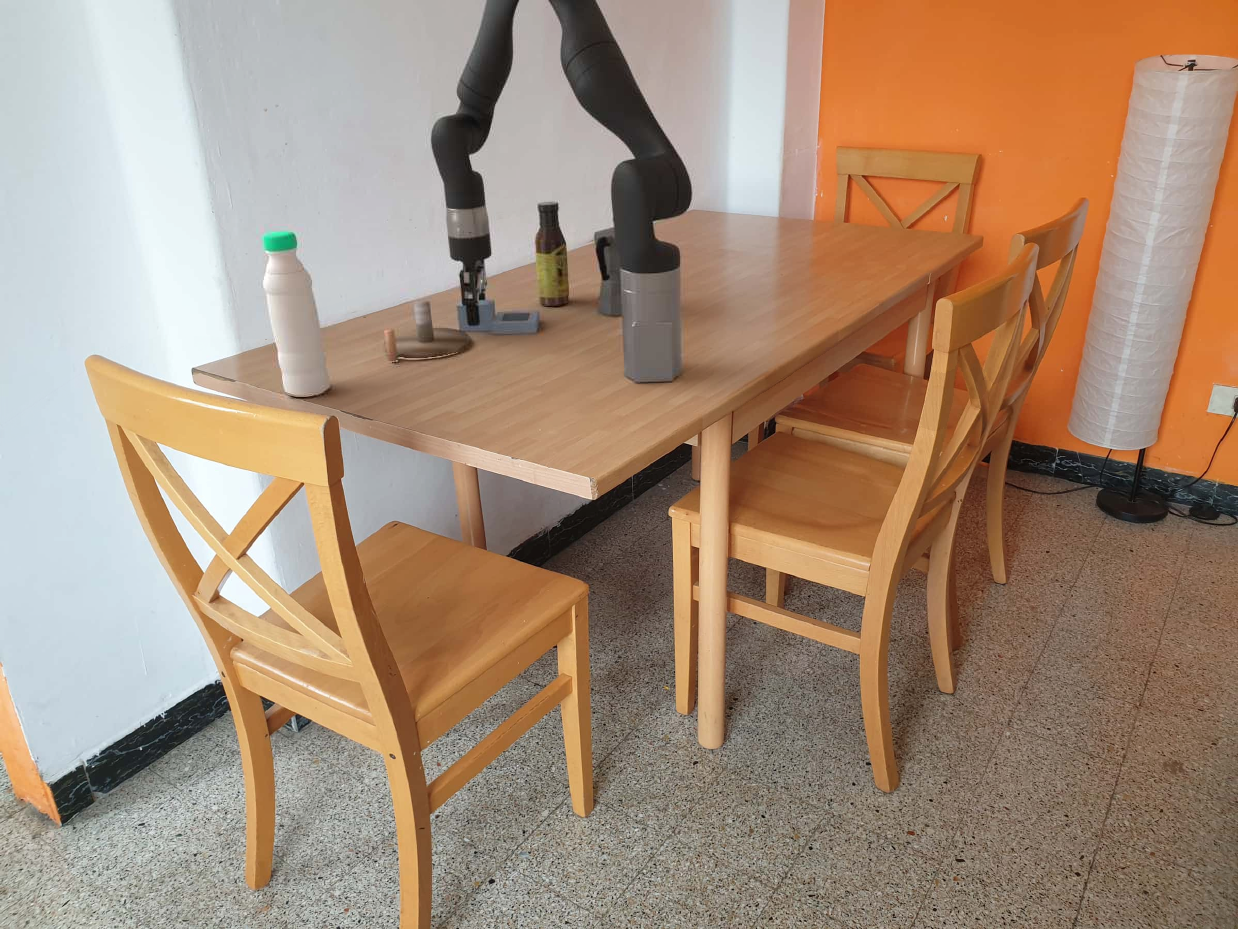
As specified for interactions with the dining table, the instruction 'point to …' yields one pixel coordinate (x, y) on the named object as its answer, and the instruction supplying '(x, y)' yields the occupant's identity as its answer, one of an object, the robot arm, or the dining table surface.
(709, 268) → the dining table surface
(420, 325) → the post stand
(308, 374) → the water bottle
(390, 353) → the dowel
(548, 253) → the sauce bottle
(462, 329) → the blue-grey block with frame
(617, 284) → the coffeepot
